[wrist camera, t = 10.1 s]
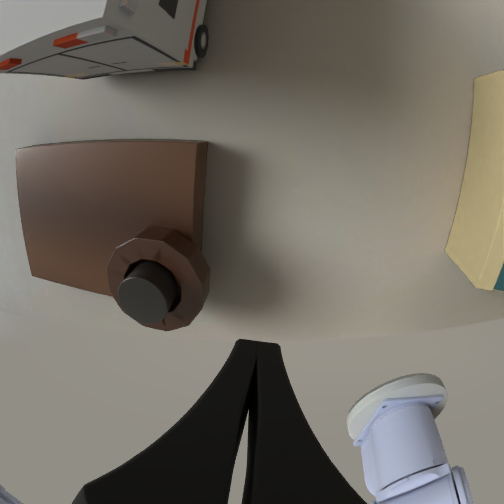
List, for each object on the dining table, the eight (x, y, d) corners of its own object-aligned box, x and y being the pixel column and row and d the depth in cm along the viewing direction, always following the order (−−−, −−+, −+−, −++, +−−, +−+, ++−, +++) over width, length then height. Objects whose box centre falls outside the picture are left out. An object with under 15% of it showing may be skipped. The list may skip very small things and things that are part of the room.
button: (178, 310, 16) (168, 329, 14) (134, 301, 16) (121, 318, 14) (177, 265, 15) (165, 282, 13) (129, 258, 15) (114, 273, 13)
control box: (215, 301, 20) (202, 338, 16) (48, 267, 20) (19, 290, 17) (226, 142, 15) (209, 145, 12) (35, 145, 16) (-3, 153, 12)
